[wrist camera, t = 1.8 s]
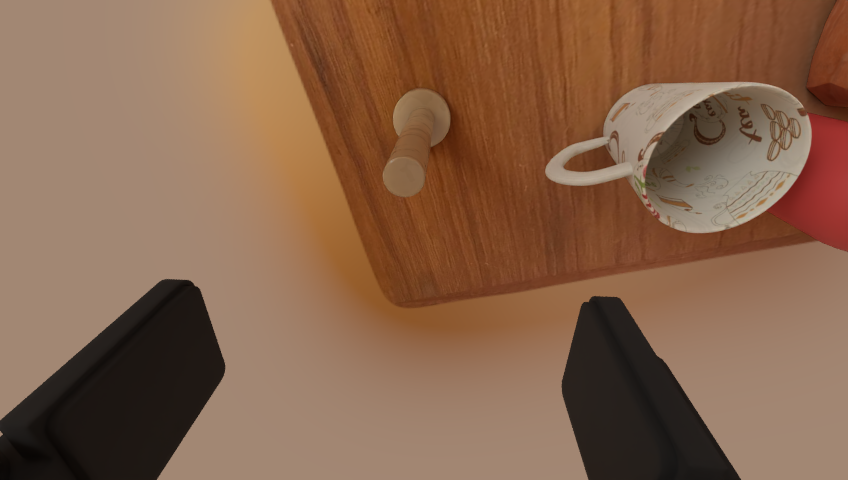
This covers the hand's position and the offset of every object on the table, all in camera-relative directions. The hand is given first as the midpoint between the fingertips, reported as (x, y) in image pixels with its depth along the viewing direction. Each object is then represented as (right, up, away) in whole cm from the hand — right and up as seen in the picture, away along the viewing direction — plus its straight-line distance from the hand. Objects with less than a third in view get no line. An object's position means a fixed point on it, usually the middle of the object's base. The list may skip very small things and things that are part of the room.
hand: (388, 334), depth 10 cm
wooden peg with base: (+1, +12, +21) cm, 24 cm away
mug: (+16, +11, +21) cm, 28 cm away
